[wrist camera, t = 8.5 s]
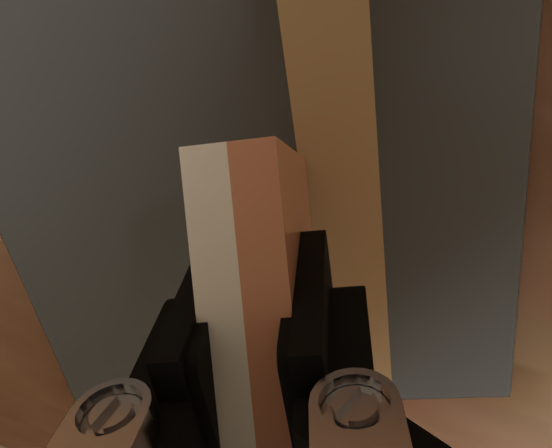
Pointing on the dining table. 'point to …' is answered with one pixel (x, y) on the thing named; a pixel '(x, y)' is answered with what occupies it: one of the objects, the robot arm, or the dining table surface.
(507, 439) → the dining table surface
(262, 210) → the tile
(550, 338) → the dining table surface
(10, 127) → the mat
